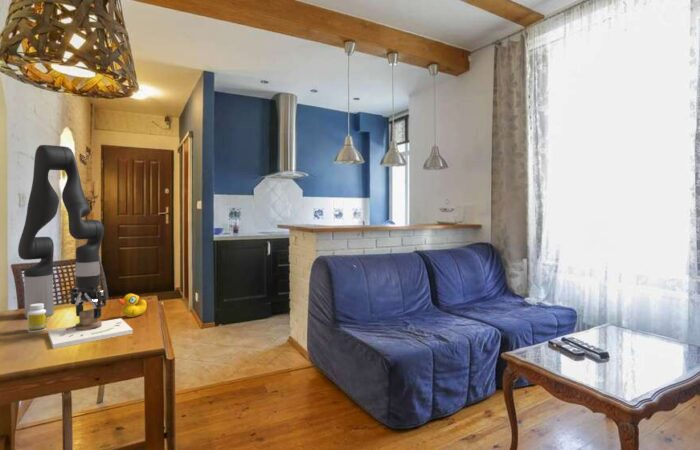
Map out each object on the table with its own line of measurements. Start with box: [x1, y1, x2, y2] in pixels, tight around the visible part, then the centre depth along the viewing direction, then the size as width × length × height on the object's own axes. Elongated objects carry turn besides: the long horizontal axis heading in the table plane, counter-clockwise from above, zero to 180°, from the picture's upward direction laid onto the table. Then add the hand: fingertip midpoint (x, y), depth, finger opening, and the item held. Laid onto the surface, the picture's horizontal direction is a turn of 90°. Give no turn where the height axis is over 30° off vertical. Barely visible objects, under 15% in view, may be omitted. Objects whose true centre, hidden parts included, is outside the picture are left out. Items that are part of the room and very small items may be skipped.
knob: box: [65, 307, 103, 330], centre depth 136 cm, size 12×8×6 cm, turn 163°
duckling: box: [117, 293, 147, 318], centre depth 157 cm, size 11×5×10 cm, turn 149°
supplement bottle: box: [27, 303, 47, 333], centre depth 138 cm, size 5×5×10 cm
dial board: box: [47, 317, 134, 350], centre depth 135 cm, size 18×23×2 cm
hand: (88, 316), depth 138 cm, fingers open, 8 cm apart
